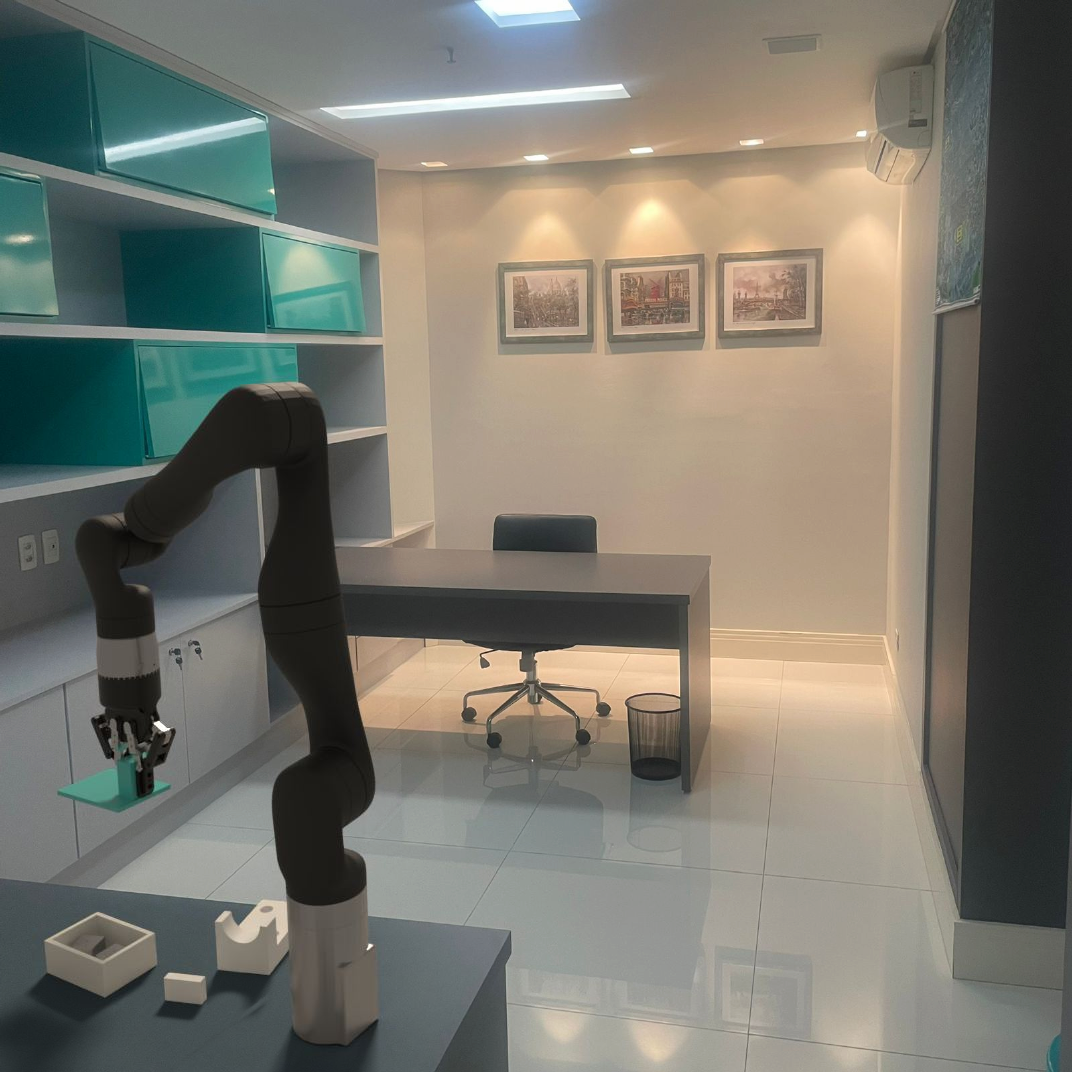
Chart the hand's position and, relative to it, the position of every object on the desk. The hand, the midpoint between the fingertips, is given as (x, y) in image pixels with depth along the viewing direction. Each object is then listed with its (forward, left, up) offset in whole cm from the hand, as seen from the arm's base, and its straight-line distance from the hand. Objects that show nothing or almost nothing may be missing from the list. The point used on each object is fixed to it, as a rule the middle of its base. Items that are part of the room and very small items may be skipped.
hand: (137, 792), depth 138 cm
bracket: (-15, -7, -22) cm, 27 cm away
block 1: (+2, +8, -21) cm, 22 cm away
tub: (-1, +8, -21) cm, 23 cm away
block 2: (-3, +8, -21) cm, 22 cm away
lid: (+4, 0, -1) cm, 4 cm away
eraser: (-15, +7, -22) cm, 27 cm away
